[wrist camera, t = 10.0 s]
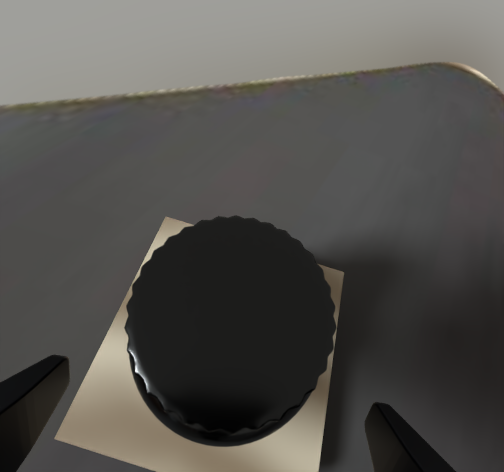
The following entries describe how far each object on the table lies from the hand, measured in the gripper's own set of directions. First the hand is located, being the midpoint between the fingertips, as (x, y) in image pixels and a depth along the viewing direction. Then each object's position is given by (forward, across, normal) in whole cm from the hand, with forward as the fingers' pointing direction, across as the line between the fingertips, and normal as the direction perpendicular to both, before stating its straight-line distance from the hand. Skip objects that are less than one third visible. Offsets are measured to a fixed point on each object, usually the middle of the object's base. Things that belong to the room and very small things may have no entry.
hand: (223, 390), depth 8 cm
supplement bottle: (+8, 0, +5) cm, 9 cm away
